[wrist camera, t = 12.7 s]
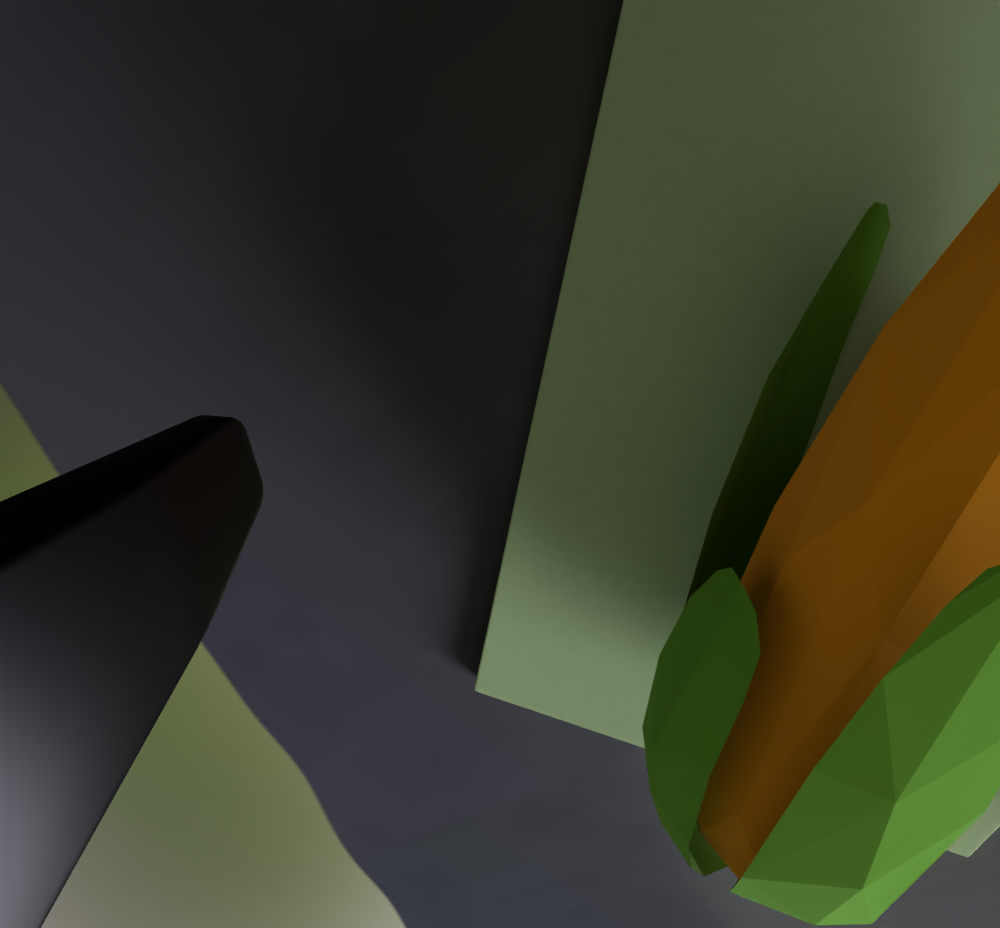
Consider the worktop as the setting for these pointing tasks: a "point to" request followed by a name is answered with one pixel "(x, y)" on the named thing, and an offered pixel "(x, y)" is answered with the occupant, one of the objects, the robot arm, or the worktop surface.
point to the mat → (718, 301)
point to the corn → (848, 605)
